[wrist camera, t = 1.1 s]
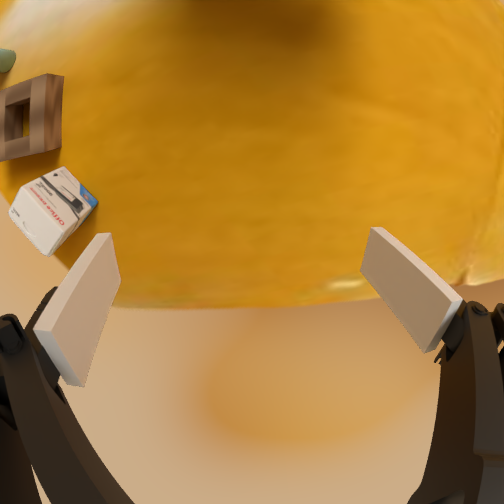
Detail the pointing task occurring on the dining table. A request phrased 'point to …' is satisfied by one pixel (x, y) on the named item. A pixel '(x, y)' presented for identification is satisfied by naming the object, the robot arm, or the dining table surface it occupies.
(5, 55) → the peg
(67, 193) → the ink box
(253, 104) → the dining table surface
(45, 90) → the socket block
